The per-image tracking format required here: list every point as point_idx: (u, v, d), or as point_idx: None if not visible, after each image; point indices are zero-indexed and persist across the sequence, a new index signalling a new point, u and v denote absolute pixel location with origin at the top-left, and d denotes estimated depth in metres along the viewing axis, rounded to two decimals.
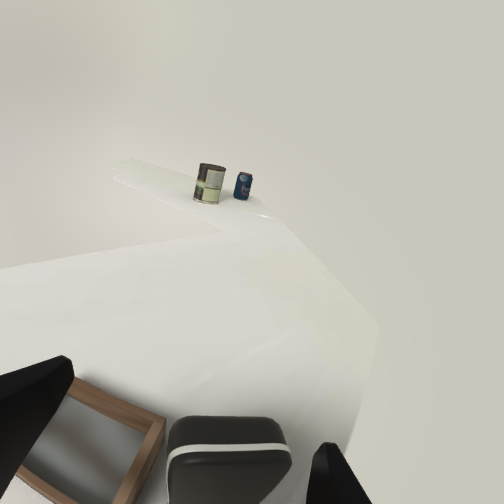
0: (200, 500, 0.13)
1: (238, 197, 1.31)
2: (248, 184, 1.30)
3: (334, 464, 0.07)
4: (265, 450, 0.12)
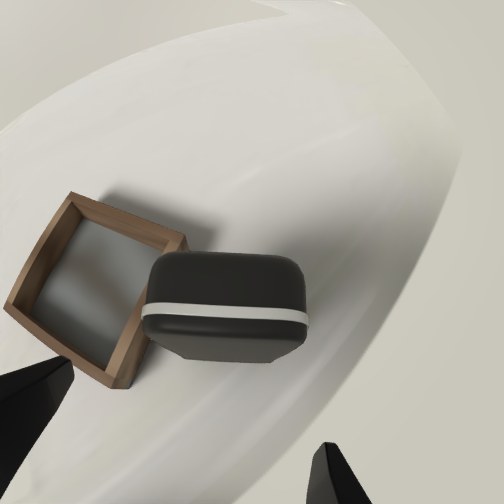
0: (201, 353, 0.15)
1: None
2: None
3: (334, 464, 0.07)
4: (263, 320, 0.10)
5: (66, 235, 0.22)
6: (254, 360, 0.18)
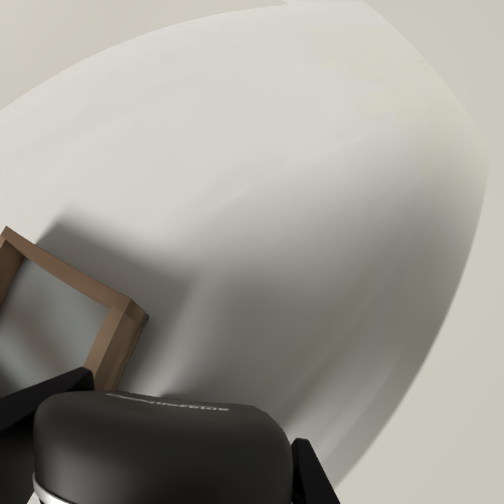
0: None
1: None
2: None
3: (304, 461, 0.07)
4: None
5: (5, 281, 0.15)
6: None
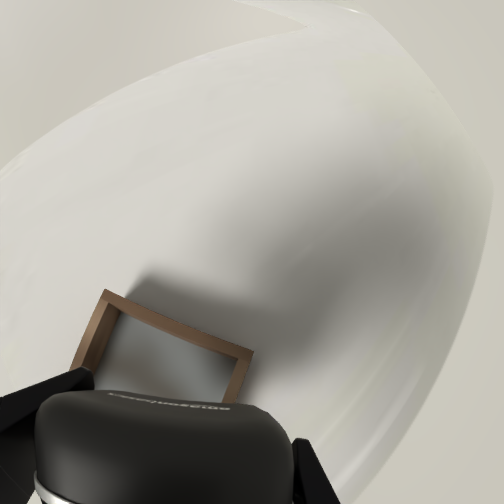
0: None
1: None
2: None
3: (304, 461, 0.07)
4: None
5: (105, 336, 0.20)
6: None
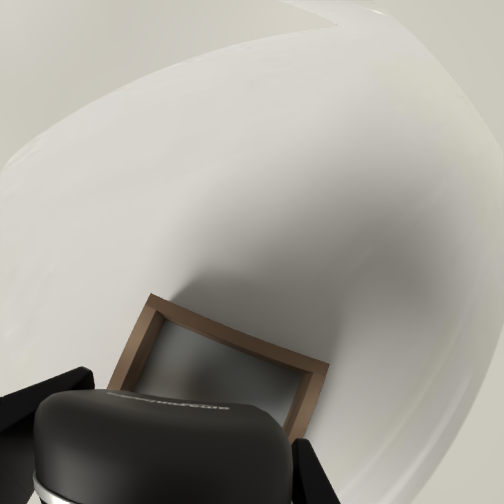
0: None
1: None
2: None
3: (304, 461, 0.07)
4: None
5: (148, 349, 0.18)
6: None
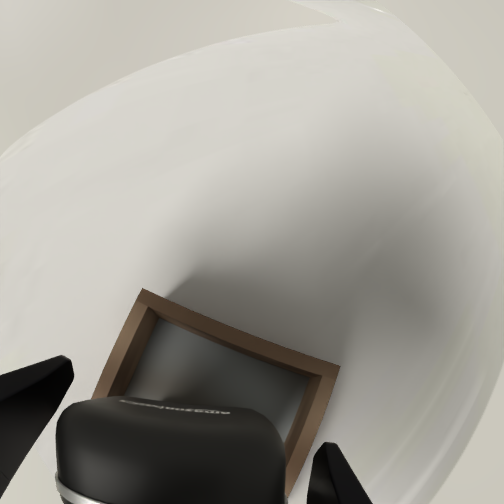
0: None
1: None
2: None
3: (335, 464, 0.07)
4: None
5: (140, 349, 0.16)
6: None
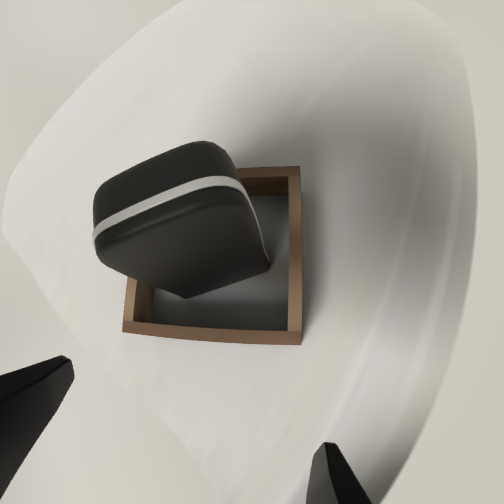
0: (184, 278, 0.16)
1: None
2: None
3: (334, 464, 0.07)
4: (184, 195, 0.10)
5: None
6: (245, 270, 0.18)
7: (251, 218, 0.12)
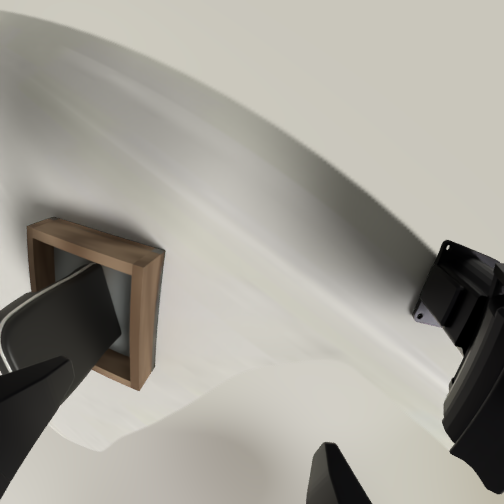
0: (85, 345, 0.18)
1: None
2: None
3: (334, 464, 0.07)
4: (6, 359, 0.11)
5: None
6: (90, 292, 0.19)
7: (25, 311, 0.13)
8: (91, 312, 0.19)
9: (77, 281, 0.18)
